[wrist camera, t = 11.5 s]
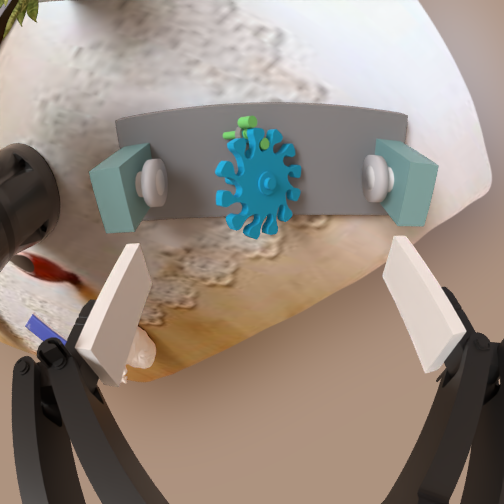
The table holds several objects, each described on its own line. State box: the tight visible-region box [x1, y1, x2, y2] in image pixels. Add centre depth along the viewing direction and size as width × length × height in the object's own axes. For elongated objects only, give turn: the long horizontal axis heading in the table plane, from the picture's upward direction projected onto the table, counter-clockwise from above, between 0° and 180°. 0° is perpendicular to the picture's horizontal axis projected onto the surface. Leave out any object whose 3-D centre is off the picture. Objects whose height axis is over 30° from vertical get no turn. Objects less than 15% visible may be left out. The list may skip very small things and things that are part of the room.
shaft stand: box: [89, 102, 439, 233], centre depth 25 cm, size 31×12×9 cm, turn 92°
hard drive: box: [25, 312, 67, 346], centre depth 49 cm, size 2×8×12 cm
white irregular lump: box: [121, 326, 156, 383], centre depth 42 cm, size 12×8×11 cm
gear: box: [215, 116, 301, 239], centre depth 26 cm, size 11×6×10 cm
